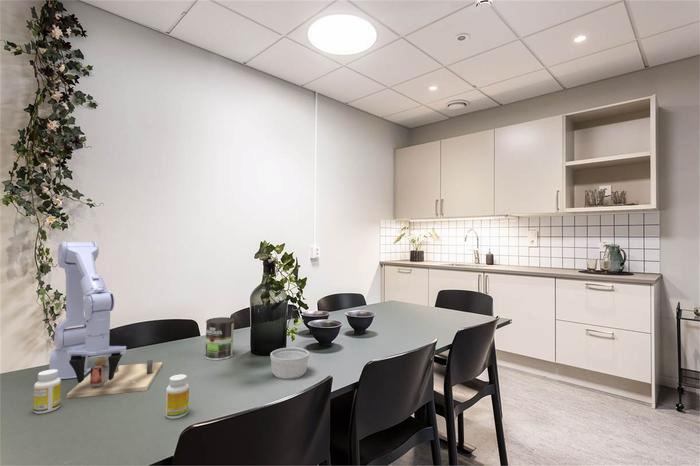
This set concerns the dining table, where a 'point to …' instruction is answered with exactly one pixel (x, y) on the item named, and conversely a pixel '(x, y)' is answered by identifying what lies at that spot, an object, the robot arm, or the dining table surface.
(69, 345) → the robot arm
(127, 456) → the dining table surface
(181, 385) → the supplement bottle
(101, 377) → the lever
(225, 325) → the coffee can
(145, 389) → the board
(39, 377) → the supplement bottle
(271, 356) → the ramekin
